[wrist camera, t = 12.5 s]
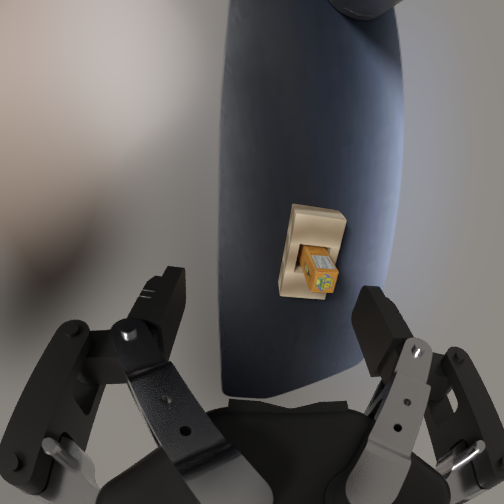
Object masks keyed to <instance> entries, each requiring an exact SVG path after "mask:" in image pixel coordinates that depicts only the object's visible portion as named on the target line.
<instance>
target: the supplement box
mask: <svg viewBox="0 0 504 504" xmlns="http://www.w3.org/2000/svg"><path fill="white" fill-rule="evenodd" d="M298 258H299V262H300V264H301V267H302V270H303V273H304V276H305V279H306V282H307V285H308V288H309V291H310V293H333V291H334V288H335V284H336V281H337V277H338V273H339V272H338V270H337V268H336V266H335V264H334V263H333V261H332V259H331V257H330V255H329V254H328V252H327V250H326V248H325V247H321V246H313V245H304V244H300V246H299V252H298Z"/></svg>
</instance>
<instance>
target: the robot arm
mask: <svg viewBox="0 0 504 504" xmlns="http://www.w3.org/2000/svg"><path fill="white" fill-rule="evenodd" d="M328 1H329V2H330V3H331V4H332V5H333V6H334V7H335V8H336V9H337V10H338V11H340V12H341V13H343V14H345V15H346V16H349V17H351V18H354V19H358V20H372V19H375V18H377V17H378V16H380V15H381V14H383V13H384V12H386V11H387V10H389V9H390V8H392V7H393V6H395V5H396V4H398V3H399V2H401V1H403V0H328ZM185 282H186V280H185V268H181V267H173V266H168V267H167V268H166V270H165V272H164V274H163V275H162V277H161V276H154V277H153V278H151V279H150V280H149V281H147V283H146V284H145V286H144V288H143V291H141V293H140V295H139V297H138V298H137V300H136V302H135V304H134V306H133V308H132V309H131V311H130V313H129V315H128V317H127V318H125V319H121V320H119V321H117V322H116V323H114V325H113V326H112V327H111V329H110V330H99V331H90V329H89V327H88V325H87V324H86V323H85V322H83V321H81V320H70V321H67V322H65V323H63V324H62V325H61V326H60V327H59V328H58V329H57V331H56V333H55V334H54V336H53V337H52V339H51V341H50V342H49V344H48V346H47V348H46V349H45V351H44V353H43V354H42V356H41V358H40V360H39V361H38V363H37V365H36V367H35V369H34V371H33V373H32V374H31V377H30V378H29V380H28V382H27V384H26V386H25V388H24V390H23V392H22V394H21V397H20V398H19V401H18V403H17V405H16V407H15V409H14V412H13V414H12V416H11V418H10V421H9V423H8V426H7V428H6V431H5V433H4V436H3V439H2V441H1V444H0V474H1V476H2V477H3V479H4V480H6V481H7V482H8V483H10V484H12V485H13V486H15V487H17V488H19V489H20V490H21V491H23V492H24V493H26V494H27V495H30V496H32V497H33V498H35V499H38V500H39V501H42V502H44V503H48V504H463V503H465V502H467V501H469V500H471V499H473V498H475V497H476V496H478V495H480V494H482V493H484V492H486V491H487V490H489V489H491V488H492V487H494V486H496V485H497V484H499V483H500V482H502V481H504V428H503V426H502V423H501V421H500V419H499V416H498V414H497V411H496V409H495V407H494V405H493V402H492V400H491V398H490V396H489V394H488V392H487V390H486V387H485V386H484V384H483V382H482V380H481V377H480V376H479V374H478V372H477V370H476V368H475V366H474V364H473V362H472V360H471V359H470V357H469V355H468V354H467V353H466V352H465V351H464V350H463V349H461V348H458V347H450V348H449V349H448V351H447V352H446V354H445V355H442V354H438V353H433V352H432V349H431V347H430V346H429V345H428V344H427V343H426V342H425V341H423V340H421V339H419V338H414V337H413V335H412V333H411V332H410V330H409V328H408V326H407V324H406V322H405V321H404V320H403V317H402V315H401V314H400V313H399V310H398V309H397V307H396V306H395V304H394V303H393V302H392V301H390V299H389V298H386V297H385V295H384V293H383V292H382V290H381V288H380V287H378V286H363V287H362V288H361V291H360V293H359V296H358V299H357V301H356V304H355V307H354V309H353V312H352V318H351V320H352V326H353V328H354V331H355V334H356V336H357V339H358V342H359V344H360V347H361V350H362V353H363V356H364V358H365V361H366V364H367V367H368V370H369V373H370V375H371V377H378V376H381V378H382V380H381V381H380V383H379V384H378V387H377V389H376V391H375V393H374V395H373V397H372V399H371V401H370V403H369V405H368V407H367V409H366V411H365V413H364V414H363V413H361V412H358V411H355V410H351V409H348V405H347V401H335V402H319V403H314V404H310V405H306V406H302V407H297V408H291V409H290V408H285V407H281V406H277V405H273V404H269V403H264V402H261V401H250V400H237V399H229V404H228V407H223V408H218V409H214V410H211V411H208V412H206V413H205V411H204V410H203V408H202V407H201V406H200V404H199V403H198V401H197V400H196V398H195V397H194V395H193V394H192V392H191V391H190V389H189V388H188V386H187V385H186V383H185V382H184V380H183V379H182V377H181V376H180V374H179V372H178V371H177V369H176V368H175V366H174V365H173V363H172V362H171V361H168V360H169V357H170V354H171V350H172V347H173V344H174V341H175V338H176V334H177V331H178V328H179V325H180V322H181V319H182V315H183V312H184V309H185V304H186V283H185ZM121 383H127V385H128V388H129V390H130V392H131V394H132V397H133V399H134V401H135V403H136V405H137V407H138V409H139V411H140V413H141V416H142V417H143V420H144V421H145V424H146V426H147V428H148V430H149V432H150V434H151V436H152V437H153V439H154V441H155V443H156V445H157V446H158V448H156V449H155V450H153V451H152V452H151V453H149V454H148V455H147V456H145V457H144V458H142V459H141V460H140V461H138V462H137V463H135V464H134V465H133V466H131V467H130V468H128V469H127V470H125V471H124V472H122V473H121V474H119V475H118V476H116V477H115V478H113V479H112V480H110V481H109V482H107V483H106V484H105V485H104V486H103V487H102V488H101V489H100V488H99V487H98V485H97V484H96V481H95V467H94V464H93V462H92V460H91V458H90V457H89V456H88V455H87V454H86V453H85V450H86V446H87V442H88V439H89V436H90V432H91V429H92V425H93V422H94V419H95V416H96V413H97V410H98V407H99V404H100V400H101V397H102V394H103V392H104V389H105V386H106V384H121ZM452 389H453V391H454V393H455V396H456V398H457V401H458V408H457V410H456V412H455V413H454V412H453V410H452V407H451V404H450V402H449V399H448V397H447V394H448V393H449V392H450V391H451V390H452ZM423 416H424V418H425V421H426V425H427V428H428V431H429V435H430V438H431V442H432V445H433V449H434V453H435V457H436V461H437V464H436V469H434V468H432V467H431V466H430V465H428V464H427V463H426V462H424V461H423V460H422V459H421V458H420V457H418V456H417V455H416V454H415V453H413V452H412V449H413V447H414V444H415V441H416V438H417V435H418V432H419V429H420V426H421V423H422V420H423Z"/></svg>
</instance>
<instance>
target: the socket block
mask: <svg viewBox="0 0 504 504" xmlns="http://www.w3.org/2000/svg"><path fill="white" fill-rule="evenodd" d="M346 221H347V220H346V219H345V218H344V216H343V215H342V214H341V213H340V211H338V210H332V209H325V208H318V207H312V206H305V205H297V204H292V210H291V215H290V221H289V227H288V232H287V238H286V243H285V249H284V254H283V259H282V265H281V270H280V275H279V280H278V283H279V291H280V296H287V297H298V298H311V299H324V300H325V297H326V293H310V291H309V288H308V285H307V282H306V279H305V276H304V273H303V270H302V267H301V264H300V262H299V260H296V259H297V255H298V250H299V245H300V244H304V245H313V246H321V247H325V248H326V250H327V252H328V254H329V255H330V257H331V259H332V261H333V263H334V264H335V263H336V259H337V256H338V252H339V248H340V245H341V241H342V237H343V233H344V229H345V225H346Z"/></svg>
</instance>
